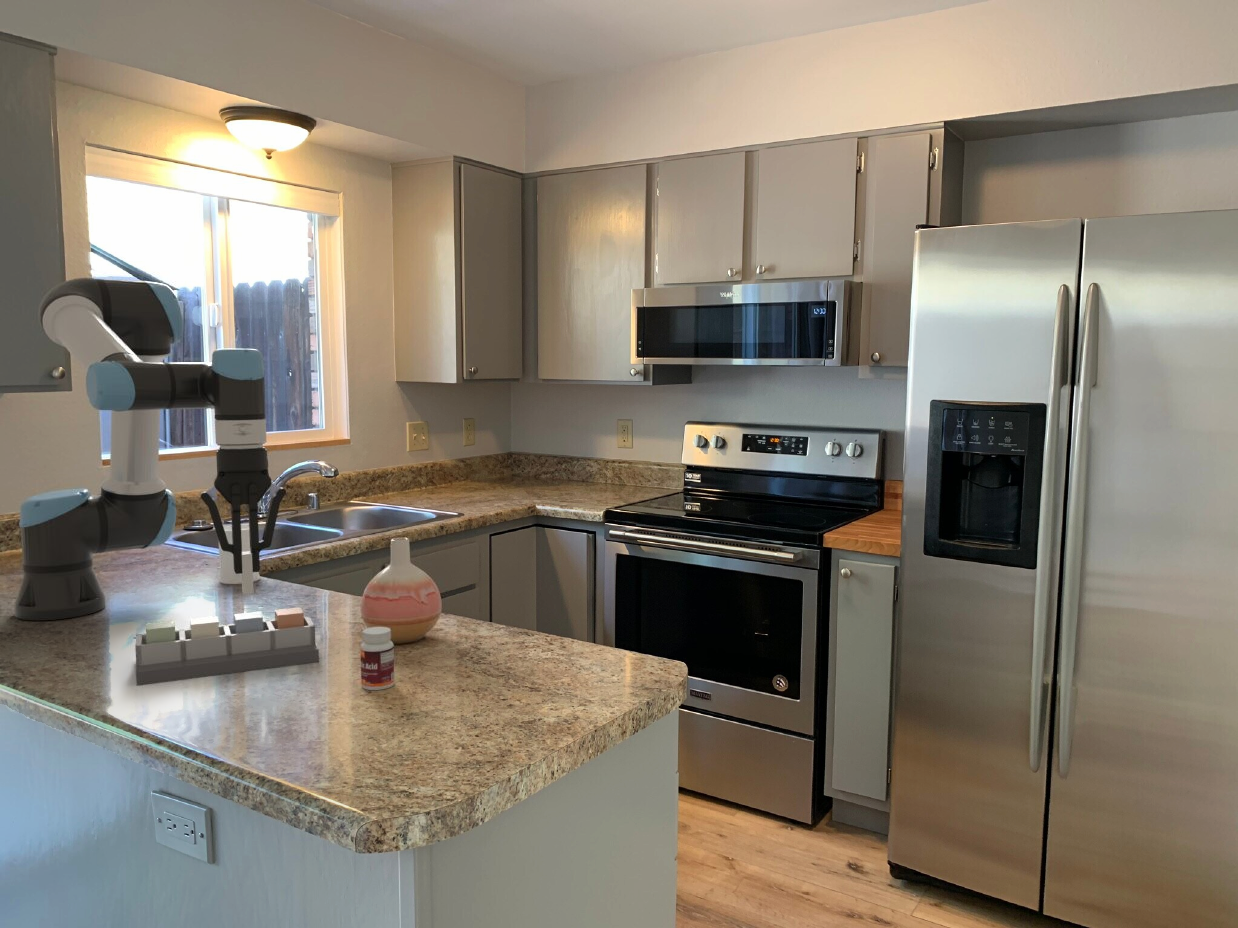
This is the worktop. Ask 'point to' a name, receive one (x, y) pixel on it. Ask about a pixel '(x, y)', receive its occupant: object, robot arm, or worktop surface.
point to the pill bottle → (377, 659)
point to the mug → (227, 558)
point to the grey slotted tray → (224, 652)
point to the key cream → (204, 627)
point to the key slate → (248, 622)
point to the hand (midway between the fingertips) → (247, 592)
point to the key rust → (289, 618)
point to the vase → (401, 598)
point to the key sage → (160, 632)
